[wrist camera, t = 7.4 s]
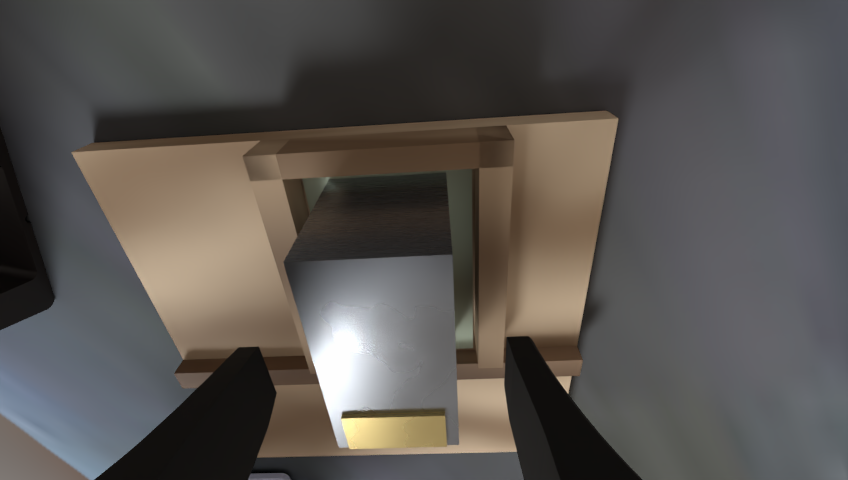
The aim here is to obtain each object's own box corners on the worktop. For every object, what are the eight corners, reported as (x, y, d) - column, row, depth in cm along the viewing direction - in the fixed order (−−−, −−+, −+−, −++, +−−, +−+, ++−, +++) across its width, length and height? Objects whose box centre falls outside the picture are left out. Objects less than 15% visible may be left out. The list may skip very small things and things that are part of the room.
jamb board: (553, 433, 23) (565, 478, 21) (243, 441, 24) (225, 485, 22) (606, 110, 14) (639, 132, 11) (92, 142, 14) (33, 168, 12)
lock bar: (328, 179, 14) (281, 266, 9) (445, 172, 14) (452, 258, 9) (361, 338, 18) (338, 451, 13) (452, 334, 18) (459, 449, 13)
